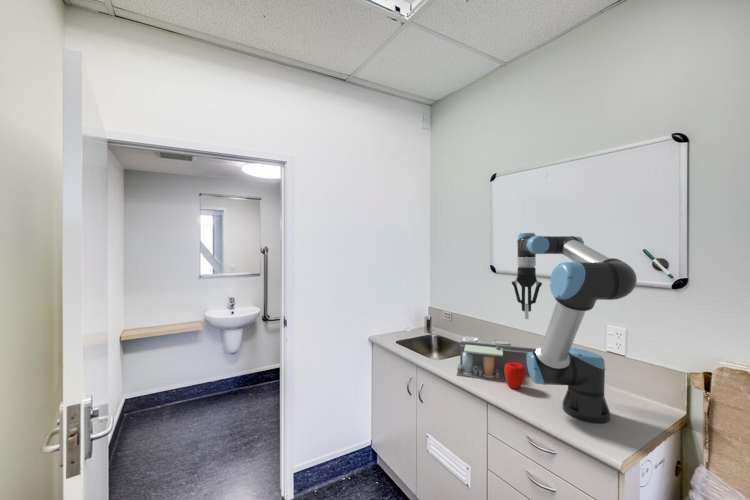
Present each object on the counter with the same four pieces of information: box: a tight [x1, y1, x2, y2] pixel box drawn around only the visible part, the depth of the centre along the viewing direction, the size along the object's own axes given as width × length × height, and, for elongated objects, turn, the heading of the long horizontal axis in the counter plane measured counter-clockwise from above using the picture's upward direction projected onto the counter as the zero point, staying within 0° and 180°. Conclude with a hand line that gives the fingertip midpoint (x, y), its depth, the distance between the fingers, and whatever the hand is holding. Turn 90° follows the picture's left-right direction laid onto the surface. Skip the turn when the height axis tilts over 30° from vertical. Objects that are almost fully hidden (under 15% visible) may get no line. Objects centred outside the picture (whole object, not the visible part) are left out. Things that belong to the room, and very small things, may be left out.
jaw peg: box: [483, 354, 494, 376], centre depth 159 cm, size 5×5×9 cm
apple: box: [503, 362, 526, 390], centre depth 146 cm, size 9×9×11 cm
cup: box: [462, 336, 483, 343], centre depth 189 cm, size 8×12×10 cm
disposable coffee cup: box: [491, 339, 512, 346], centre depth 176 cm, size 10×10×12 cm
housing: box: [456, 340, 537, 382], centre depth 160 cm, size 17×39×12 cm, turn 70°
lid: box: [464, 345, 503, 357], centre depth 163 cm, size 11×18×2 cm, turn 70°
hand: (526, 318), depth 149 cm, fingers closed
